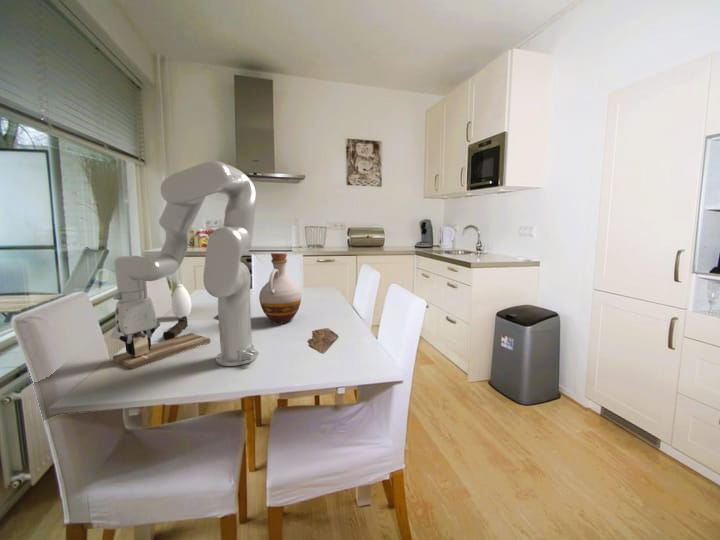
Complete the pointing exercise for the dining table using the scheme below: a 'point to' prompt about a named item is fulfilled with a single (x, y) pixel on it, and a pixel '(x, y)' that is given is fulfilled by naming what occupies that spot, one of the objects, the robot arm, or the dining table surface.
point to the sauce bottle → (181, 301)
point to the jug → (280, 293)
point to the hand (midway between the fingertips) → (139, 351)
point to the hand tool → (175, 329)
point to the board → (162, 350)
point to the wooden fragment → (322, 339)
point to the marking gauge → (140, 344)
